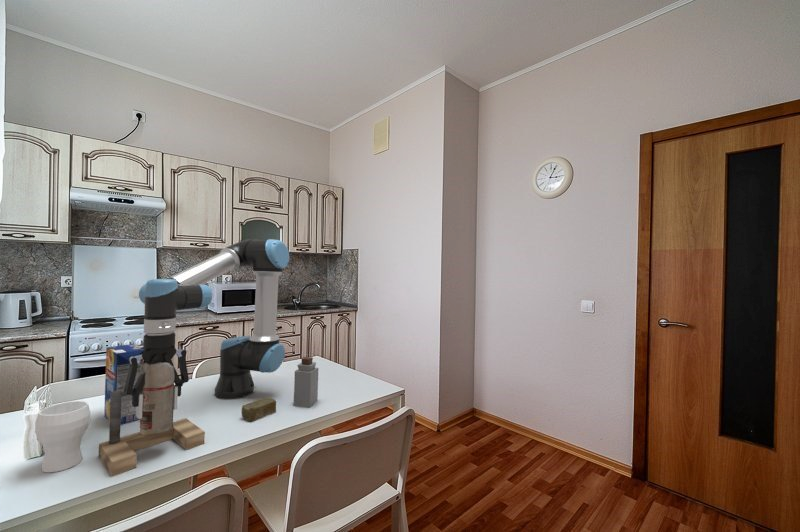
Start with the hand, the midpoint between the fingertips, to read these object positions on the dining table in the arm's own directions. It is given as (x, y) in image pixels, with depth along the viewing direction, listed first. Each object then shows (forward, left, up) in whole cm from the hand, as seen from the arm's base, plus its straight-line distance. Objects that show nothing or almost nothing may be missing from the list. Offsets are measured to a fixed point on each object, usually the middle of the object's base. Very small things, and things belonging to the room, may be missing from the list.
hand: (157, 412), depth 100 cm
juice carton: (-33, 0, -12) cm, 35 cm away
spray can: (0, 0, -5) cm, 5 cm away
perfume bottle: (+2, +50, -12) cm, 51 cm away
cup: (-11, -18, -12) cm, 24 cm away
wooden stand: (-2, 0, -11) cm, 12 cm away
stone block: (-2, +33, -12) cm, 35 cm away
